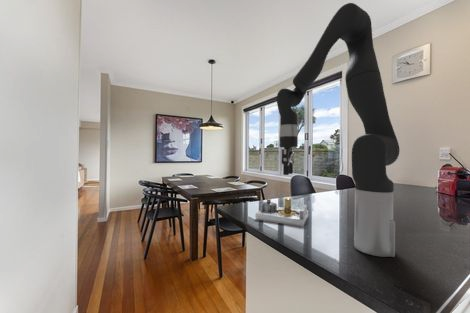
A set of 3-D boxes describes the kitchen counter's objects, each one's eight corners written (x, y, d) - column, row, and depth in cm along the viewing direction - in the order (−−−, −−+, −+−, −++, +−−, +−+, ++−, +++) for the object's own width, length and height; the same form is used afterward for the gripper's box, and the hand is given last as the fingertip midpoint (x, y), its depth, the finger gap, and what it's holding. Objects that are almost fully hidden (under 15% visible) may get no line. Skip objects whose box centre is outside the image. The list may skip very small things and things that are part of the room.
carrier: (308, 216, 93) (308, 199, 93) (303, 226, 78) (303, 207, 78) (266, 210, 101) (266, 195, 101) (254, 219, 87) (255, 201, 87)
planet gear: (298, 217, 91) (298, 198, 91) (295, 222, 84) (295, 201, 84) (280, 215, 94) (280, 196, 94) (276, 219, 87) (276, 199, 87)
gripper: (294, 134, 81) (294, 175, 81) (300, 137, 94) (299, 173, 94) (275, 134, 84) (275, 175, 84) (283, 138, 97) (283, 173, 97)
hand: (288, 174), depth 89 cm, fingers open, 8 cm apart
